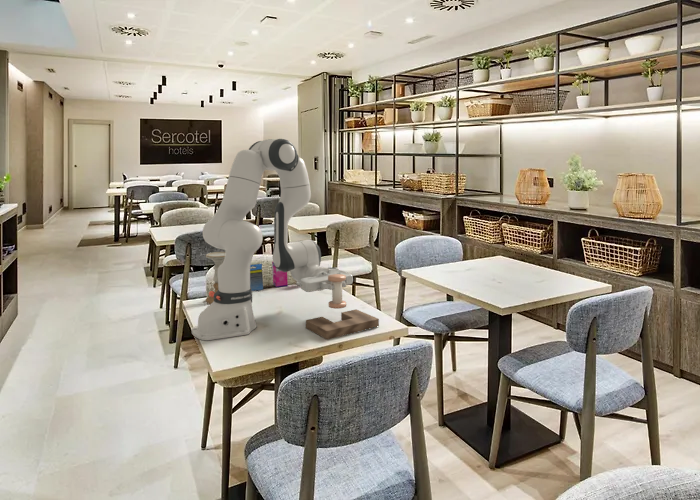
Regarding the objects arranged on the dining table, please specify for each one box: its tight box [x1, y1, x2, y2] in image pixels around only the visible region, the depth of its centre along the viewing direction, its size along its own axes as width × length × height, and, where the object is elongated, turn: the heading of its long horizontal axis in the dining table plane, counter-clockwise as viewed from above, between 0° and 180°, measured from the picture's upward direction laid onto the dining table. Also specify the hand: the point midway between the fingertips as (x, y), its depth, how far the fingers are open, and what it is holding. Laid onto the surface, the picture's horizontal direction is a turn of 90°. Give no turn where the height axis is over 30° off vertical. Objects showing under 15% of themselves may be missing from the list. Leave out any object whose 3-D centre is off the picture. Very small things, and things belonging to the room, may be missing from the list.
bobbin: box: [328, 274, 347, 309], centre depth 186 cm, size 6×6×11 cm
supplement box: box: [271, 260, 289, 288], centre depth 243 cm, size 6×6×12 cm
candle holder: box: [205, 251, 225, 305], centre depth 218 cm, size 12×12×20 cm
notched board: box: [305, 309, 380, 340], centre depth 185 cm, size 22×14×3 cm, turn 124°
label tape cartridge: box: [250, 263, 264, 292], centre depth 235 cm, size 9×4×12 cm, turn 118°
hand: (338, 286), depth 185 cm, fingers closed on bobbin, 4 cm apart
